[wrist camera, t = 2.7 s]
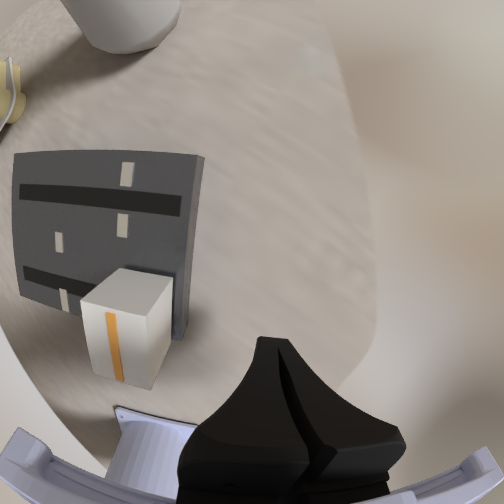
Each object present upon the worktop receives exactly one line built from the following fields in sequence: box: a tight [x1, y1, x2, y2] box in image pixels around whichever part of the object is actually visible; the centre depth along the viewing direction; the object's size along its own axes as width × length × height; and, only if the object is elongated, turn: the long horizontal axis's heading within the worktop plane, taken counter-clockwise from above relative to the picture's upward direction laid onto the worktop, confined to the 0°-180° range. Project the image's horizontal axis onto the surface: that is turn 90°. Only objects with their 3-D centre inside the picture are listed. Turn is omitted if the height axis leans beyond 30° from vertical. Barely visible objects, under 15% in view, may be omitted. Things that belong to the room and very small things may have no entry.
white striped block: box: [80, 268, 173, 390], centre depth 12 cm, size 4×3×4 cm
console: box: [12, 150, 205, 341], centre depth 14 cm, size 10×13×2 cm
